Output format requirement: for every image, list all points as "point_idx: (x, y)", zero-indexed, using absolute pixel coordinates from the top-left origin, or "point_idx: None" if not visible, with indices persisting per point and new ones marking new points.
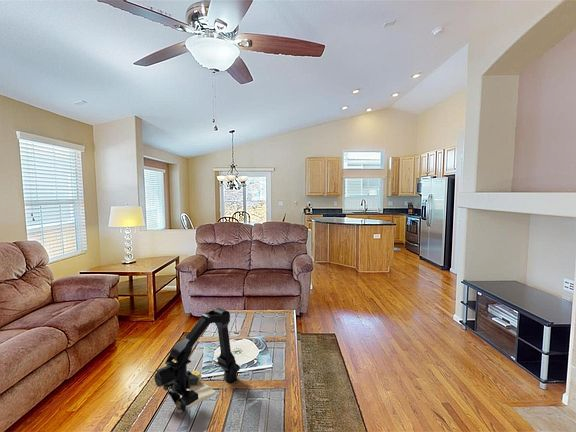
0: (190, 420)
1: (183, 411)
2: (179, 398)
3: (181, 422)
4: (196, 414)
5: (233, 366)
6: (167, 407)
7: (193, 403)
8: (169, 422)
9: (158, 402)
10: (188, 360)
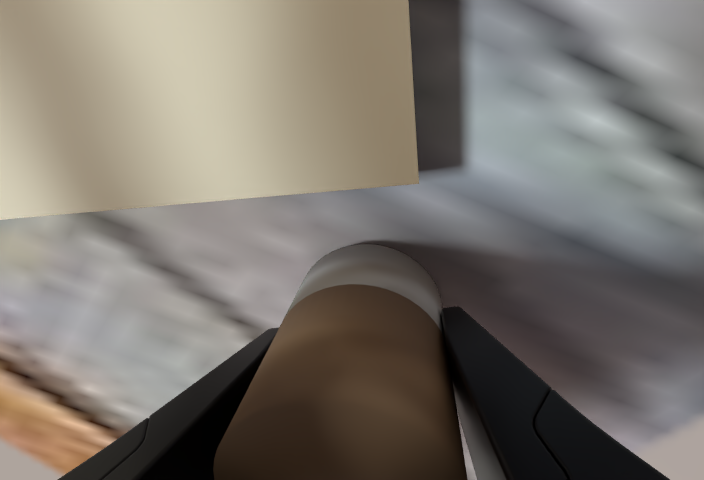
0: (693, 275)
1: (440, 312)
2: (225, 476)
3: (600, 382)
4: (652, 124)
5: None
6: (174, 384)
7: (345, 62)
8: (466, 467)
9: (39, 413)
10: None
